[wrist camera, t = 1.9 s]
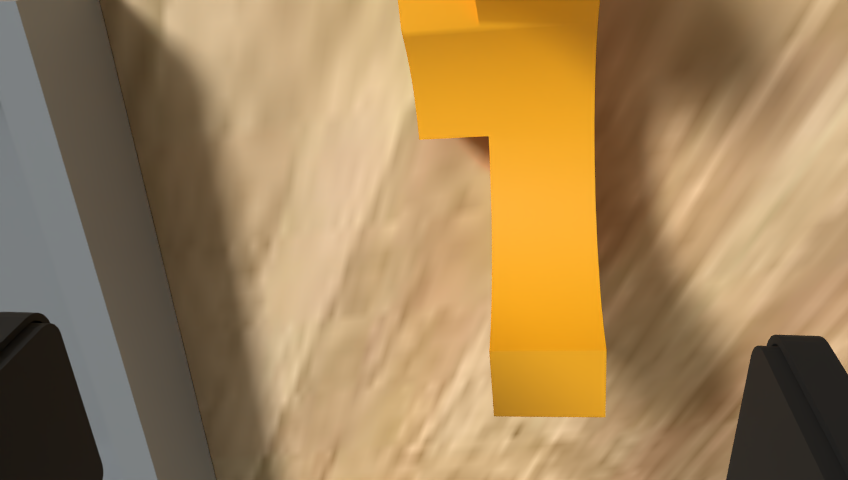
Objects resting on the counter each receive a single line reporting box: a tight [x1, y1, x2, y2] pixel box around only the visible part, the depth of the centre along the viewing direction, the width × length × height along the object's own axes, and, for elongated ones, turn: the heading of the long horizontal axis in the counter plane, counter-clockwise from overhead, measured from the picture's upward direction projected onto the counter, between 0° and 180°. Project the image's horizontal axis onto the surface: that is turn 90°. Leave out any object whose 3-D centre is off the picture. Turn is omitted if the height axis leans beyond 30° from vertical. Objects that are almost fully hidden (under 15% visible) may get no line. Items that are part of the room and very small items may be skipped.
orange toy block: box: [398, 0, 607, 417], centre depth 18 cm, size 12×4×6 cm, turn 5°
